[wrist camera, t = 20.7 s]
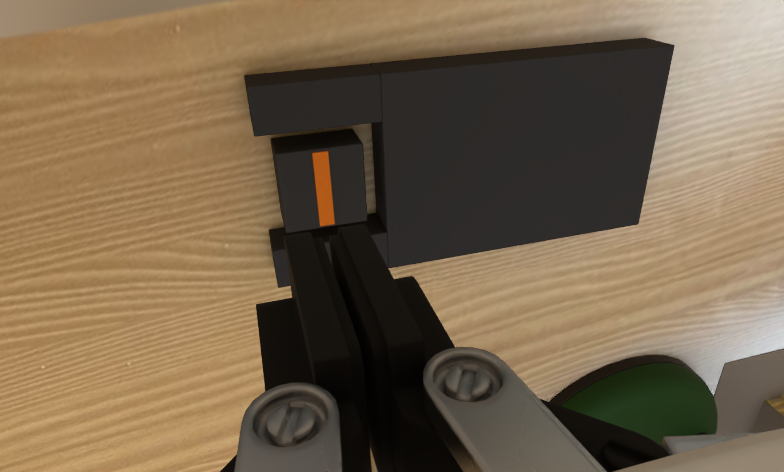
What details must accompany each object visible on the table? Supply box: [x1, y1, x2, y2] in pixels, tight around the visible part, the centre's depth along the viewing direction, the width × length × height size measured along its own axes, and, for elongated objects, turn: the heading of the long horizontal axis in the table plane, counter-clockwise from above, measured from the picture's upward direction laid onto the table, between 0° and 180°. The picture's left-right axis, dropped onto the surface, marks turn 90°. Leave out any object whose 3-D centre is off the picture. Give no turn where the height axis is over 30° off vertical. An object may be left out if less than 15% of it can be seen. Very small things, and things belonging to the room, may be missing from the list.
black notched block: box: [244, 38, 674, 288], centre depth 40 cm, size 29×14×3 cm, turn 92°
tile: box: [271, 129, 367, 233], centre depth 38 cm, size 6×6×3 cm
